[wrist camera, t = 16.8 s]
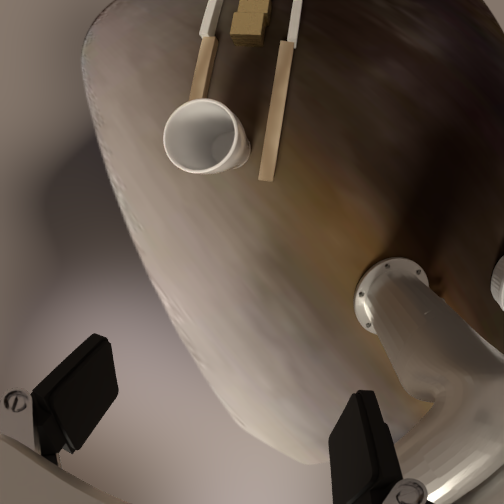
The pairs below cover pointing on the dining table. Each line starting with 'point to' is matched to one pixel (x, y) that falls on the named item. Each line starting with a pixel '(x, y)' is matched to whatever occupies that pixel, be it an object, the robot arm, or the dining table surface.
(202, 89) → the channel
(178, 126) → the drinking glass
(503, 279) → the ramekin
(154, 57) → the dining table surface
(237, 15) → the wooden cube
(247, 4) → the tan cube
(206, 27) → the u-shaped frame
